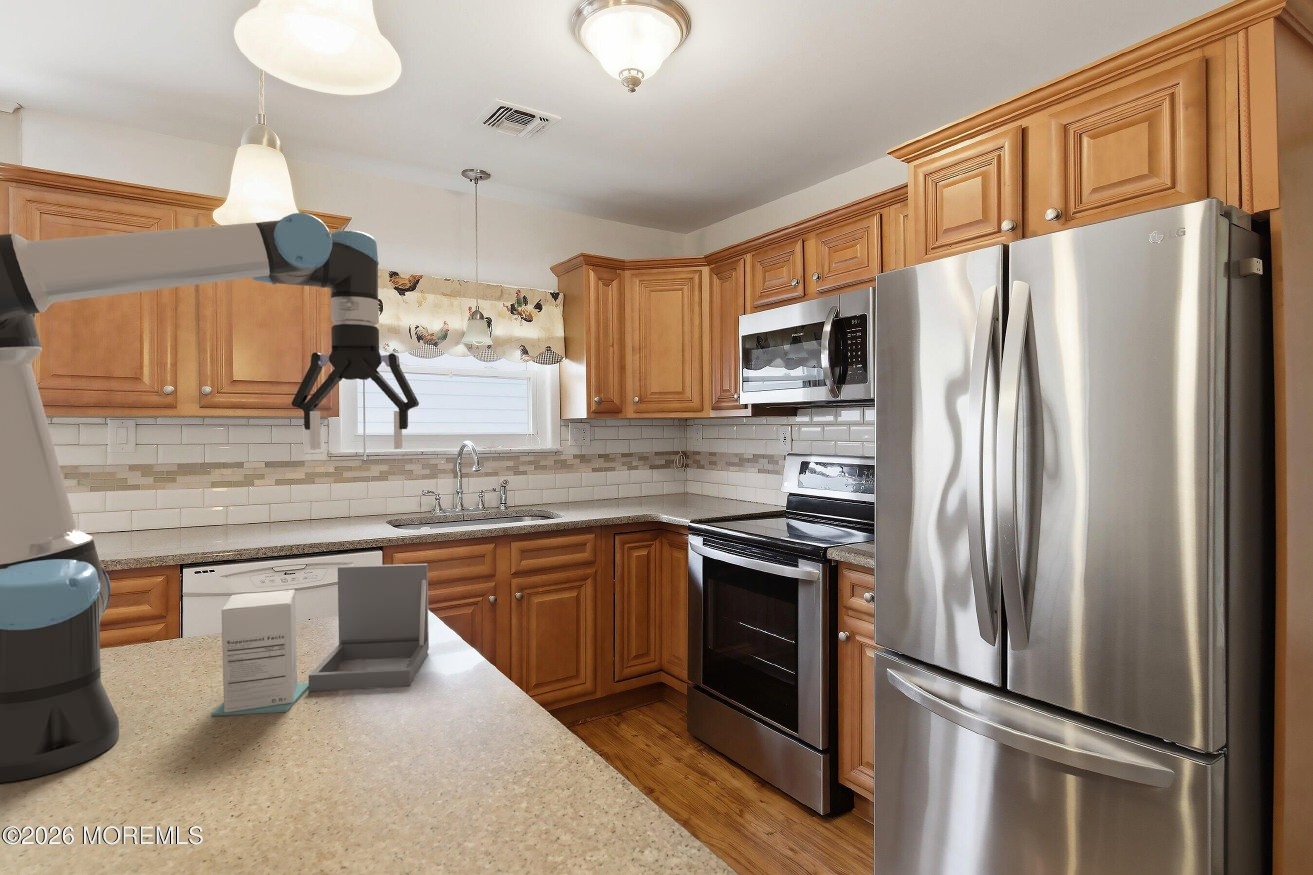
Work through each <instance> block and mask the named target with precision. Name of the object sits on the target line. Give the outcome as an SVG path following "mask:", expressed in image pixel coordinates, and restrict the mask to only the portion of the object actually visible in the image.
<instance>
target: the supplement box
mask: <svg viewBox="0 0 1313 875" xmlns="http://www.w3.org/2000/svg"><path fill="white" fill-rule="evenodd" d="M296 617H297V616H296V590H295V589H287V590H277V591H264V592H250V593H249V592H248V593H247V592H246V593H237V594H232V595H231V596H230V597H229V599H228V600H227V602H226V604H224V606H223V608H222V609H221V639H222V640H221V642H222V679H223V680H222V682H223V685H222V686H223V703H224V713H227V712H233V711H240V710H248V709H254V708H261V707H268V706H275V705H282V704H288V703H292V702H293V699H294V694H295V690H296V685H297V684H298V662H297V661H298V658H297V657H298V656H297V655H298V654H297V622H296V620H297V618H296Z"/></svg>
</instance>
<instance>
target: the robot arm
mask: <svg viewBox="0 0 1313 875" xmlns="http://www.w3.org/2000/svg"><path fill="white" fill-rule="evenodd" d="M378 258H379V256H378V246H377V240H376V239H375V238H374V237H373V236H372V235H370V234H368V233H365V232H362V231H357V230H356V231H355V230H336V231H332V233H331V232H330V230H329V228H328V227H327V225H326V224H325V223H324V222H323V221H322V220H321V219H319V218H318V217H316V216H314V215H312V214H310V213H304V212H295V213H291V214H288V215H286V216H284V217H282V218H281V219H279V220H269V221H260V222H247V223H237V224H236V223H235V224H234V223H233V224H221V225H211V226H209V225H208V226H199V227H197V226H196V227H186V228H184V227H183V228H173V229H161V230H150V231H139V232H136V231H135V232H125V233H115V234H112V233H111V234H101V235H89V236H78V237H77V236H76V237H63V238H53V239H41V240H29V239H26V238H24V237H23V236H21V235H19V234H18V233H6V234H4V233H2V234H0V783H9V782H15V781H22V780H28V779H32V778H33V779H34V778H36V777H40V776H45V775H49V774H53V773H56V772H59V771H63V770H65V769H68V768H72V767H74V766H77V765H79V764H81V763H84V762H87V761H89V760H91V759H93V758H95V757H97V756H99V755H102V754H103V753H104V752H106V751H107V750H109V749H111V748H112V747H113V746H114V745H115V744H116V743H117V742H118V741H119V738H120V720H119V717H118V715H117V714H116V712H115V709H114V707H113V704H112V702H111V700H110V698H109V696H108V693H107V692H106V690H105V688H104V685H103V682H102V678H101V674H102V673H101V671H102V669H101V640H100V639H101V634H100V633H101V632H100V631H101V630H100V628H101V620H102V618H103V616H104V615H103V614H105V612H106V610H107V608H108V605H109V603H110V600H111V593H112V588H111V586H112V585H111V581H110V578H109V575H108V574H107V572H106V571H105V568H103V567H102V565H101V562H100V559H99V555H98V551H97V548H96V545H95V544H96V543H95V541H94V537H93V535H90V534H88V533H86V532H83V531H81V530H80V529H78V528H77V525H76V522H75V518H74V515H73V511H72V507H71V503H70V500H69V497H68V493H67V489H66V486H65V482H64V478H63V475H62V471H61V466H60V464H59V459H58V456H57V452H56V448H55V445H54V441H53V438H52V433H51V431H50V427H49V424H48V423H49V422H48V419H47V416H46V411H45V408H44V405H43V402H42V398H41V397H42V396H41V394H40V391H39V387H38V386H39V385H38V382H37V380H36V376H35V372H34V368H33V363H34V360H35V359H36V358H37V357H38V356H39V355H40V354H41V353H42V352H43V348H42V345H41V341H40V337H39V334H38V329H37V325H36V322H35V317H36V314H41V313H45V312H46V311H47V309H48V308H49V307H50V306H51V305H52V304H53V303H61V302H69V301H76V300H84V299H93V298H100V297H101V298H102V297H108V296H117V295H124V294H125V295H126V294H131V293H132V294H133V293H134V294H135V293H140V292H141V293H142V292H148V291H156V290H164V289H173V288H181V287H187V286H188V287H189V286H195V285H203V284H211V283H217V282H218V283H219V282H227V281H234V280H236V281H237V280H243V279H252V280H253V281H255V282H262V283H268V284H272V285H289V286H303V287H315V288H316V287H317V288H321V289H322V288H327V289H330V311H331V312H330V314H331V316H330V317H331V318H330V319H331V320H330V321H331V322H332V323H334V324H333V325H332V326H331V327H330V328H331V329H330V330H331V332H330V333H331V352H330V353H329V354H322V353H319V352H312V353H311V355H310V356H311V357H310V365H309V368H308V369H307V371H306V373H305V375H304V377H303V379H302V381H301V382H300V385H299V386H298V389H297V392H296V393H295V394H294V397H293V398H292V401H291V406H292V407H295V408H298V409H300V410H302V411H303V427H304V429H305V430H306V431H308V430H309V434H310V435H309V438H310V451H312V450H313V451H315V450H316V451H317V450H321V448H322V446H321V444H322V443H321V411H320V410H319V411H316V410H317V408H318V407H319V405H320V404H321V403H322V402H323V401H324V400H325V398H326V397H327V396H328V395H329V394H330V393H331V392H332V390H333V389H334V388H335V387H336V386H337V385H338V384H339V382H341V381H342V380H343V379H345V380H349V381H352V380H353V381H355V380H356V379H357V380H363V381H367V380H369V379H370V380H372V381H373V383H375V385H377V386H378V388H380V390H381V391H382V392H383V393H384V394H385V396H387V398H388V399H389V400H390V401H391V402H392V403H393V404H394V405H395V407H396V408H397V410H393V441H394V442H393V447H394V448H393V449H394V450H399V449H403V430H407V429H408V428H409V411H410V410H411V409H415V408H417V407H418V406H419V405H420V402H419V400H418V398H417V396H416V394H415V393H414V391H413V389H412V387H411V385H410V383H409V381H408V379H407V378H406V376H405V374H404V372H403V370H402V368H401V365H400V364H401V363H400V357H399V355H398V354H396V353H393V352H391V353H389V354H384V355H382V354H381V352H380V329H379V328H378V327H377V325H378V324H379V322H380V318H379V317H380V312H379V311H380V310H379V308H380V307H379V264H380V263H379V259H378ZM328 363H330V365H331V366H332V367H333V370H332V371H331V372H330V373H329V374H328V376H327V378H326V379H325V380H324V381H323V382H322V383H321V384H320V386H319V387H318V388H317V389H316V391H314V392H313V394H312V395H311V396H310V394H311V392H312V390H313V388H314V387H315V384H316V382H317V380H318V379H319V376H320V374H321V372H322V370H323V368H324V367H326V365H328ZM382 363H384V364H385V366H386V367H388V368H390V371H391V373H392V375H393V377H394V378H395V381H396V382H397V384H398V386H399V388H400V389H401V391H402V394H403V395H404V397H405V400H406V402H405V400H404V399H403V398H402V397H401V396H400V395H399V394H398V392H396V390H395V389H394V388H393V387H392V386H391V385H390V384H389V383H388V381H387V380H386V379H385V377H383V375H382V374H381V373H380V372H379V370H378V369H379V367H380V366H381V364H382ZM309 396H310V397H309Z"/></svg>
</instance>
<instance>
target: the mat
mask: <svg viewBox="0 0 1313 875" xmlns="http://www.w3.org/2000/svg"><path fill="white" fill-rule="evenodd" d="M308 690H309V682H306V683H305V682H304V683H297V685H296V690H295V694H294V699H293V702H292V703H288V704H282V705H275V706H268V707H261V708H254V709H248V710H240V711H233V712H227V713H224V702H223V703H222V704H221V705H219V706H218V707H217V708H216V709H214V711H212V712H211V717H218V716H233V715H234V716H235V715H236V716H237V715H252V714H272V713H287V712H289V710H290V709H291V708H292V707H293V705H295V704H296V702H298V700H299V699H300V698H302V696H303V695H304V694H305V693H306V691H308Z"/></svg>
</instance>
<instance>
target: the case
mask: <svg viewBox="0 0 1313 875" xmlns="http://www.w3.org/2000/svg"><path fill="white" fill-rule="evenodd" d="M428 565H429V564H428V563H407V564H379V565H378V564H375V565H374V564H373V565H343V566H342V565H339V566H337V599H338V600H337V602H338V604H337V605H338V606H337V607H338V608H337V609H338V610H337V612H338V616H337V617H338V644H337V645H336V647H335V648H334V649H332V650H331V652H330V653H328V655H327V656H326V657H325V658H324V659H323V660H322V661H321V662H320V663H319V664H318V665H317V666H316V667H315V668H314V669H313V670H312V671H311V672H310V673H309V675H308V683H309V688H308V692H321V691H341V690H343V691H344V690H358V689H359V690H360V689H361V690H362V689H379V688H397V687H398V688H399V687H411V685H412V683H413V681H414V679H415V678H416V676H417V674H418V672H419V670H420V669H421V667H422V664H423V663H424V662H425V660H426V658H427V656H428V653H429V648H430V647H429V641H430V639H429V638H430V637H429V636H430V635H429V632H430V631H429V576H428V572H429V567H428ZM391 658H395V659H396V658H410V659H409V660H408V662H407V663H406V665H405V667H404V668H385V669H384V668H383V669H365V670H363V669H362V670H361V669H360V670H347V671H346V670H345V671H343V670H342V671H335V670H336V669H337V668H338V667H339V666H340V665H341V663H342V662H343V661H350V660H351V661H352V660H354V661H355V660H366V659H367V660H372V659H375V660H376V659H391Z"/></svg>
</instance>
